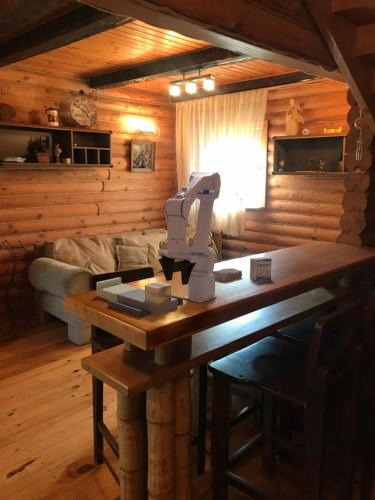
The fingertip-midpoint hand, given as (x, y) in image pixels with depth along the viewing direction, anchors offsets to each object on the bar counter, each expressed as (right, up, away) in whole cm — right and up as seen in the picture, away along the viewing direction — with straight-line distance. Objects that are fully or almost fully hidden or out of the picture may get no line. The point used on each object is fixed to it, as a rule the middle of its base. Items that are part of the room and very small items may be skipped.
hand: (177, 282), depth 132 cm
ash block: (-6, -6, +7) cm, 11 cm away
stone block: (+19, -2, +48) cm, 52 cm away
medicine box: (+34, -2, +47) cm, 58 cm away
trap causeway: (-15, -8, +15) cm, 22 cm away
